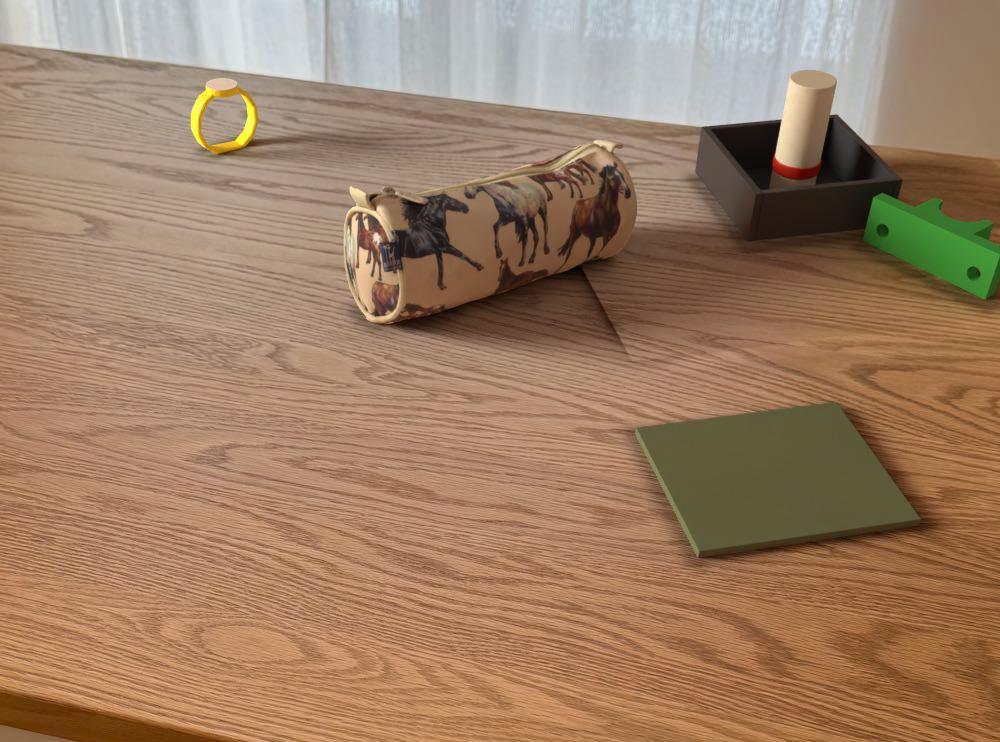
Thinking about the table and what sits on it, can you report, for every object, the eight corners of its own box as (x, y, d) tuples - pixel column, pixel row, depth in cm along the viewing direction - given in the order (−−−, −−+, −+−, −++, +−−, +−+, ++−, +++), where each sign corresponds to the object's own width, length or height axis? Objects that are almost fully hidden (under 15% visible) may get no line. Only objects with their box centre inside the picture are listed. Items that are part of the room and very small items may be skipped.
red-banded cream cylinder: (801, 184, 105) (826, 67, 98) (820, 206, 102) (846, 86, 95) (759, 189, 104) (780, 71, 97) (777, 210, 101) (800, 90, 95)
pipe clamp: (1010, 293, 94) (1030, 238, 91) (981, 309, 92) (1000, 255, 89) (888, 234, 100) (903, 181, 97) (859, 248, 98) (873, 195, 95)
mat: (834, 408, 83) (836, 401, 83) (919, 526, 74) (921, 519, 74) (634, 434, 81) (635, 427, 80) (697, 559, 72) (698, 551, 72)
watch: (205, 164, 109) (196, 98, 105) (191, 152, 111) (180, 87, 107) (265, 146, 112) (258, 80, 108) (249, 135, 113) (242, 70, 109)
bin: (825, 166, 109) (837, 113, 106) (888, 234, 100) (903, 179, 97) (693, 179, 107) (701, 126, 104) (746, 250, 98) (756, 194, 95)
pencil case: (389, 351, 88) (383, 226, 81) (337, 295, 93) (328, 173, 87) (641, 272, 96) (655, 153, 89) (580, 225, 101) (589, 108, 94)
